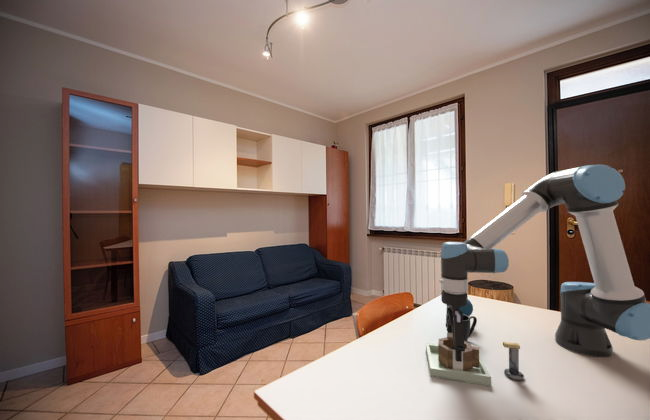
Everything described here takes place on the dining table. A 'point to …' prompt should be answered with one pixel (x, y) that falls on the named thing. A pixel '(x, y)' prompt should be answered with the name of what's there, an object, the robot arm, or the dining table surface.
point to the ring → (447, 354)
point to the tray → (443, 372)
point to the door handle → (513, 362)
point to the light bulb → (467, 309)
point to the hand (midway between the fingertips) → (454, 361)
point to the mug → (468, 326)
